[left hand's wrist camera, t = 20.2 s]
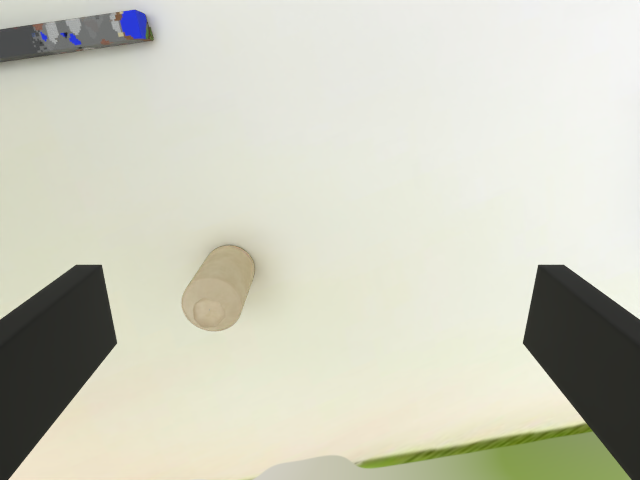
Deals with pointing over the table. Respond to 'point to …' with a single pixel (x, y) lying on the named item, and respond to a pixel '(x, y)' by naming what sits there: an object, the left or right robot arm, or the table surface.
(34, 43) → the blue-tipped grey rod
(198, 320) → the candle
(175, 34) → the table surface
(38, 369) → the left robot arm
